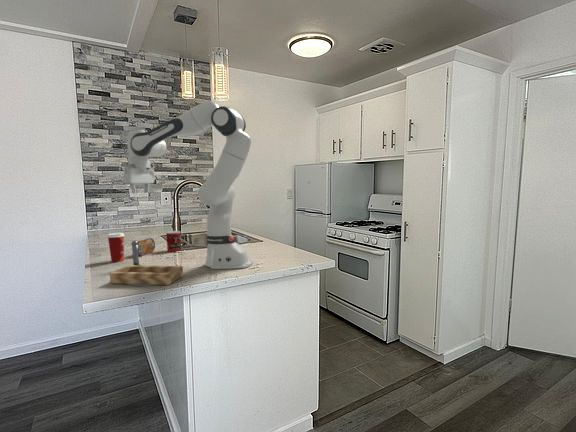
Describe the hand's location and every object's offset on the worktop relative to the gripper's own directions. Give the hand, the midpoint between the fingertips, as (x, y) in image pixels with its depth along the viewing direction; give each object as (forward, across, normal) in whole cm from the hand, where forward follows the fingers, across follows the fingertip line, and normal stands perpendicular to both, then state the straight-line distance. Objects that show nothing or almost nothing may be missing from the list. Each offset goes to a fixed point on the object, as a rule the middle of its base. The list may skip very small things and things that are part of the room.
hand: (140, 193), depth 158 cm
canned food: (+34, +26, -2) cm, 43 cm away
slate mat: (+34, -29, -20) cm, 49 cm away
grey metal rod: (+34, -11, -3) cm, 36 cm away
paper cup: (+34, 0, +15) cm, 37 cm away
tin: (+34, +16, +10) cm, 39 cm away
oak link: (+34, -29, -20) cm, 49 cm away
